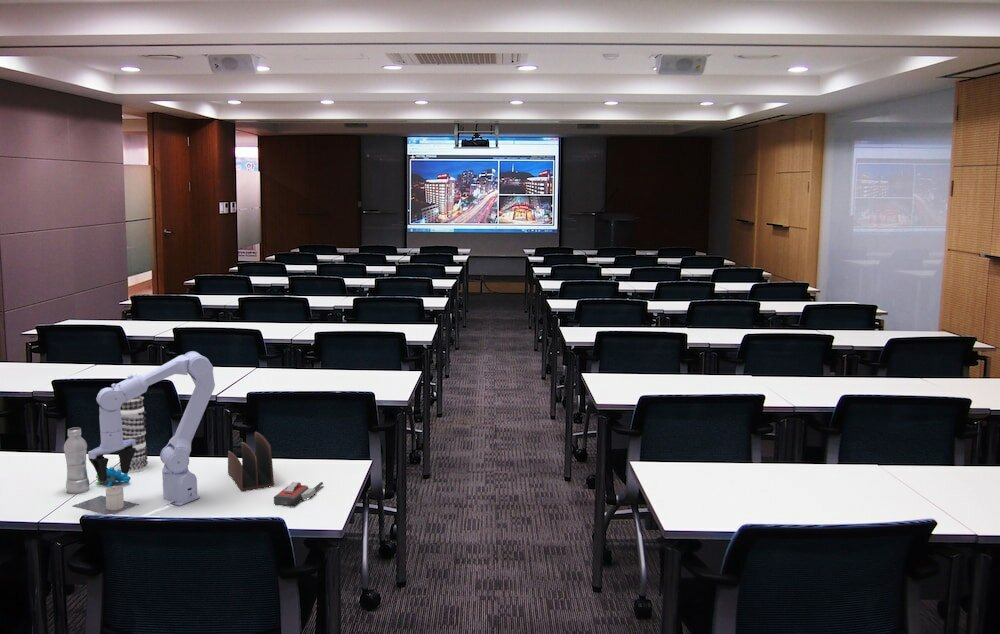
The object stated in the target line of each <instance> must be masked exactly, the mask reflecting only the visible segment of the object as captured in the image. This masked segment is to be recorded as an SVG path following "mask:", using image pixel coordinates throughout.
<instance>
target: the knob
mask: <svg viewBox="0 0 1000 634" xmlns="http://www.w3.org/2000/svg"><path fill="white" fill-rule="evenodd" d="M124 495H125V494H124V487H123V486H122V485H113V486H112V485H111V487H108V488H107V487H106V488H105V497H106V509H108V510H118V509H121V508H123V507H124V501H125V499H124Z"/></svg>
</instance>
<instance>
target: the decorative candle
mask: <svg viewBox="0 0 1000 634" xmlns="http://www.w3.org/2000/svg"><path fill="white" fill-rule="evenodd" d="M144 399H145V397H144V396H142V394H141V395H139V396H137V397H135V398H133V399H131V400H129V401H127V402H123V403H122V405H121V407H120V410H121V416H122V433H123V440H128V439H135V443H136V446H134V447H133V448H136V452H135V454H134V455H133V458H132V460H131V463H130V468H129V472H130V473H138V471H139V472H142V471H141V470H143V471H145V470H147V469H148V468H149V466H148V464H149V463H148V462H149V461H148V459H149V458H148V456H147V454H148V451H147V450H148V447H147V446H146V445H147V442H146V437H145V435H146V434H147V428H146V427H145V425H147V422H146V420H147V417H146V416H144V415H146V414H147V411H146V410H145V407H144ZM119 462H120V459H119ZM119 467H120V468H119V470H121V466H120V465H119ZM147 467H148V468H147ZM146 468H147V469H146ZM144 469H145V470H144Z"/></svg>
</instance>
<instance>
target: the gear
mask: <svg viewBox="0 0 1000 634" xmlns="http://www.w3.org/2000/svg"><path fill="white" fill-rule="evenodd" d="M128 475H129V473H127V474H126V473H122V472H121V470H120V468H119V469H117V470H115V467H112V466H110V467H109V468H108V467H107V479H106V481H100V480H99V478H98V475H97V474H96V476H95V478H96V480H97V484H96V486H100V485H101V483H108V484H107V486H106V488H108V487H112V485H113V483H115V482H119V483H121V482H123V483H129V482H130V481H131V479H132V478H131V476H128Z"/></svg>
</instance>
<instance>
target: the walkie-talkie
mask: <svg viewBox="0 0 1000 634" xmlns="http://www.w3.org/2000/svg"><path fill="white" fill-rule="evenodd" d="M322 485H324V482H323V481H321V482H319V483H318V484H317V485H316V486H314V487H313V488H310V487H309V486H308V485H303V484H302V483H301V481H300V482H298V481H297V482H296V481H292V482H291V483H290V484H289V485H288V486H286V487H284V488H283V489H282V490H281V491H279V492H278V493H277V494H276V495H274V496H273V505H274V504H275V505H274V506H278V505H283V506H282V507H291V506H292V507H294V506H293V505H295V504H296V503H297V504H298V503H300V502H301V501H300V500H304V499H307V498H310V497H311V496H313V495H314V494H315V495H316V491H317V490H318V489H319V488H321V486H322ZM315 495H314V496H315ZM314 496H313V497H314ZM311 498H312V497H311ZM311 498H310V499H311ZM299 501H300V502H299ZM304 501H305V500H304ZM297 504H296V505H297ZM296 505H295V506H296Z"/></svg>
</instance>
